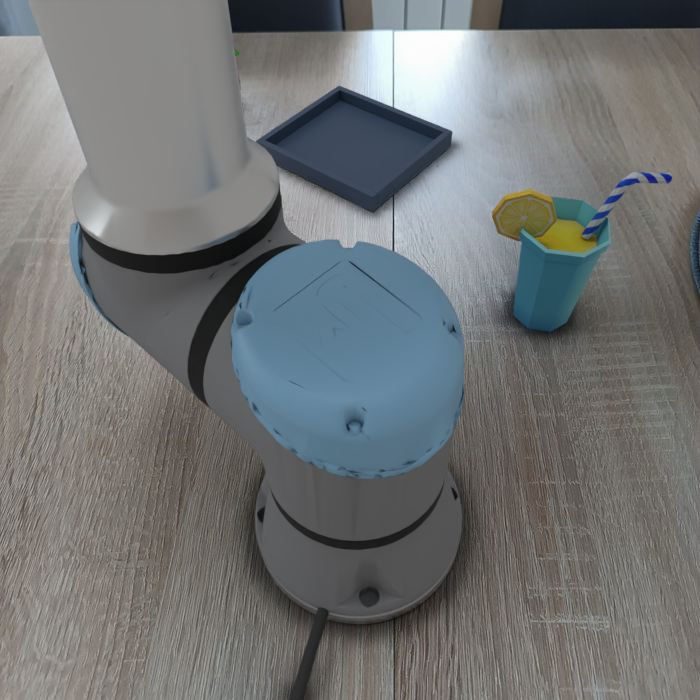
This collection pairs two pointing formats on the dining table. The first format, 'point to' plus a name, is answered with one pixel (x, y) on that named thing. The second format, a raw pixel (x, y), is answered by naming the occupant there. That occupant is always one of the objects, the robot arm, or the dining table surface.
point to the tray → (356, 146)
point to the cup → (557, 248)
